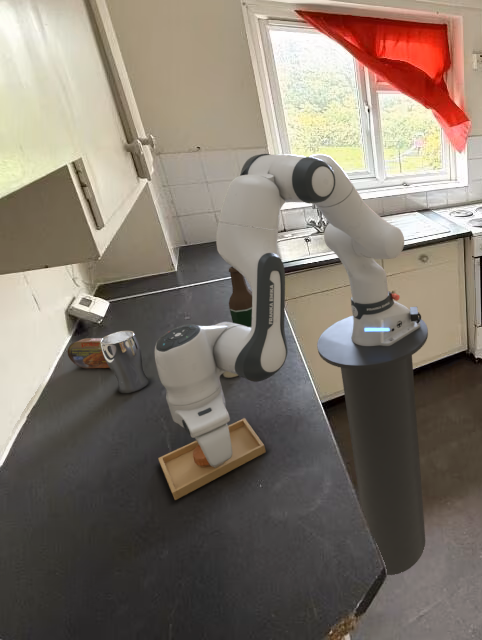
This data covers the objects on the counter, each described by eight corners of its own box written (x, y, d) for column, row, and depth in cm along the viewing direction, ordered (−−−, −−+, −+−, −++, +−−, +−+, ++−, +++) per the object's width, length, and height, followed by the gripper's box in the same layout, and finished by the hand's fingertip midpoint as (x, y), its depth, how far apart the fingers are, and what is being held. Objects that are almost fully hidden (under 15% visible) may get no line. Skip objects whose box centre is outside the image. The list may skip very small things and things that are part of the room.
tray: (246, 424, 100) (244, 417, 99) (265, 452, 92) (264, 445, 92) (160, 465, 88) (158, 458, 88) (175, 500, 81) (172, 492, 80)
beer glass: (115, 385, 112) (97, 336, 107) (149, 374, 117) (133, 327, 111) (118, 398, 107) (99, 347, 102) (153, 386, 112) (136, 337, 107)
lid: (198, 471, 86) (195, 464, 85) (191, 454, 90) (189, 447, 89) (232, 454, 90) (230, 447, 89) (224, 439, 94) (222, 432, 93)
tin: (71, 368, 119) (61, 342, 116) (82, 362, 122) (72, 336, 119) (127, 368, 119) (118, 342, 116) (136, 361, 122) (127, 336, 119)
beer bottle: (246, 328, 141) (231, 261, 132) (269, 329, 140) (255, 262, 132) (230, 341, 133) (213, 271, 125) (255, 342, 133) (239, 272, 125)
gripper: (166, 387, 89) (182, 438, 94) (192, 436, 77) (209, 493, 81) (201, 374, 94) (215, 423, 99) (231, 418, 81) (246, 473, 86)
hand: (213, 455), depth 90 cm, fingers closed on lid, 6 cm apart
